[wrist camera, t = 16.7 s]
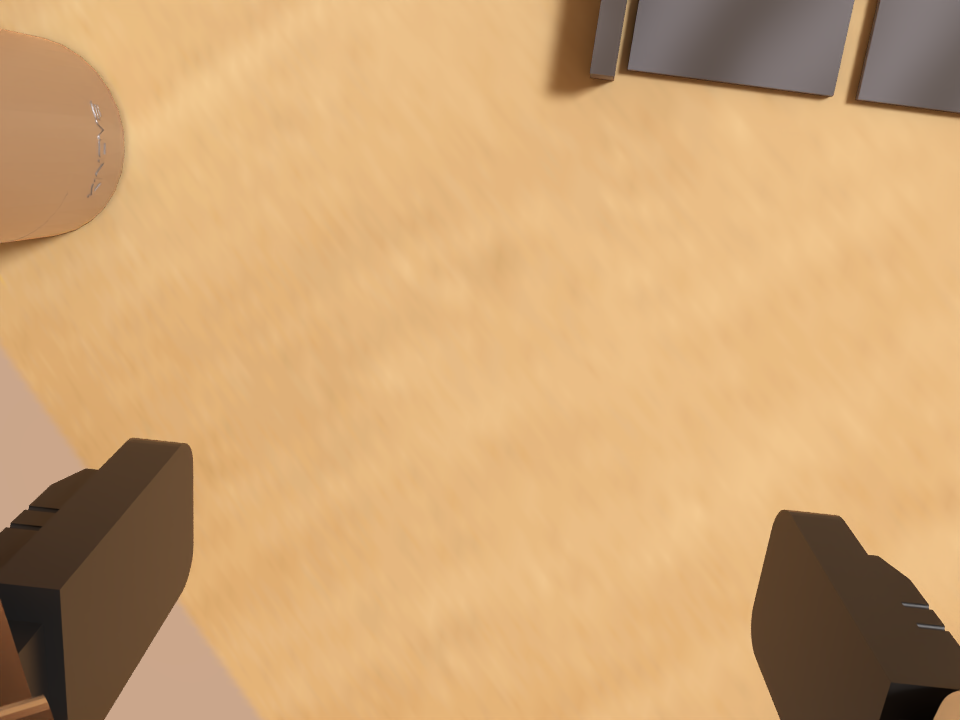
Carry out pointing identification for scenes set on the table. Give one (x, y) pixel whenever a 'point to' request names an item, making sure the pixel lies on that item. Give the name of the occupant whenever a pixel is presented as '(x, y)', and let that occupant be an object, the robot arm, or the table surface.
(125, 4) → the table surface
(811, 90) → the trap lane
